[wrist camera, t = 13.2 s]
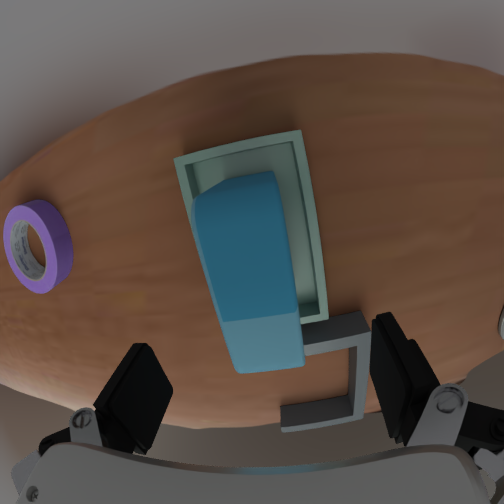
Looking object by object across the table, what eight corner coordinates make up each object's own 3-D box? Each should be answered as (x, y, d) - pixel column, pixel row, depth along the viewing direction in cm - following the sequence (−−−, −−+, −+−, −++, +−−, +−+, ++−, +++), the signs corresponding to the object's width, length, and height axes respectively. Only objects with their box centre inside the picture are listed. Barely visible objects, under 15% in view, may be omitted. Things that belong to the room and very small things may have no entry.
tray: (296, 132, 22) (300, 129, 20) (323, 303, 28) (328, 319, 25) (183, 157, 24) (173, 158, 21) (228, 318, 30) (224, 335, 27)
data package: (293, 289, 27) (307, 376, 16) (250, 296, 28) (238, 383, 16) (273, 169, 23) (278, 183, 12) (223, 178, 24) (184, 202, 13)
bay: (360, 310, 28) (371, 331, 25) (357, 398, 34) (362, 418, 30) (260, 328, 30) (259, 351, 26) (281, 411, 35) (282, 432, 32)
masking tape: (42, 180, 25) (22, 185, 22) (88, 254, 28) (70, 266, 25) (12, 232, 28) (-5, 240, 24) (51, 294, 31) (36, 307, 27)
